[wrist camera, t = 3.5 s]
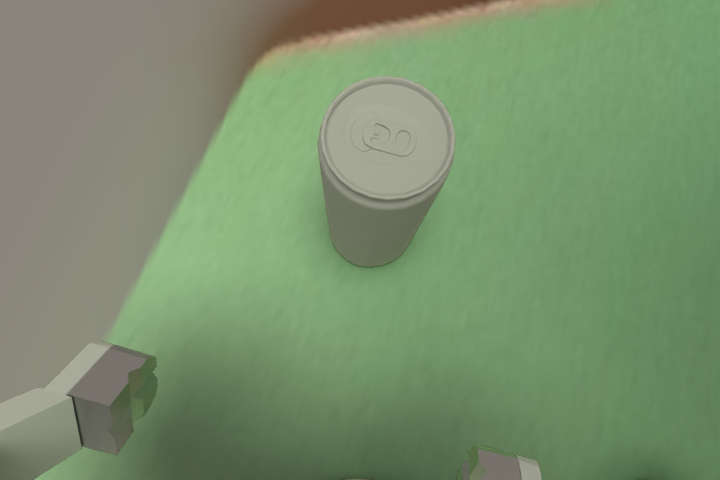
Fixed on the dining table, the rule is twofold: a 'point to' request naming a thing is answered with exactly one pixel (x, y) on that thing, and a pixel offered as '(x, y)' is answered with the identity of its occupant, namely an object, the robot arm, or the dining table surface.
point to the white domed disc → (357, 479)
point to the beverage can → (382, 165)
